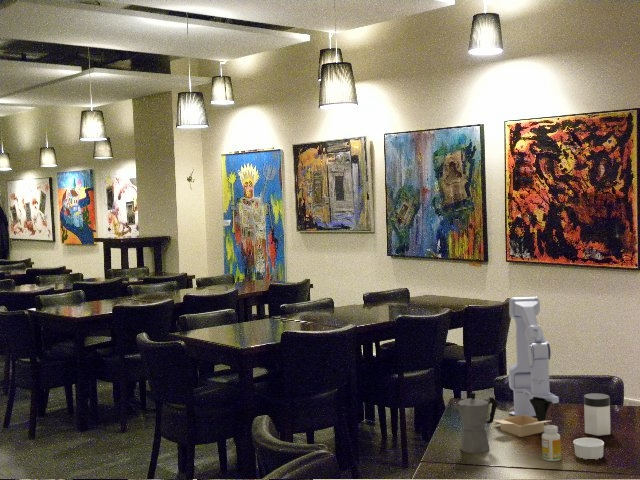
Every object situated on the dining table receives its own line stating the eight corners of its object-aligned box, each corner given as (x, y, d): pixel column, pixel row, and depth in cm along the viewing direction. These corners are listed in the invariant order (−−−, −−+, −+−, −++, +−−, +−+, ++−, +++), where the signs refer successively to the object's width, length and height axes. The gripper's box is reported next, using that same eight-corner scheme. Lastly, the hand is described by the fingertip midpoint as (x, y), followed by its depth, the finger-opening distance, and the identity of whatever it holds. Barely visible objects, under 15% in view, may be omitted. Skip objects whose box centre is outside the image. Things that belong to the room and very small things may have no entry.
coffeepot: (465, 456, 246) (463, 398, 245) (448, 448, 255) (446, 392, 254) (507, 448, 252) (505, 392, 252) (489, 441, 261) (487, 386, 260)
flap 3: (524, 415, 277) (533, 421, 279) (543, 421, 269) (552, 427, 271) (524, 414, 277) (534, 421, 279) (543, 420, 269) (553, 427, 271)
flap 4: (541, 421, 268) (551, 420, 263) (541, 421, 268) (552, 421, 263) (522, 425, 264) (532, 424, 260) (523, 425, 264) (533, 425, 260)
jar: (616, 432, 265) (616, 396, 264) (603, 437, 260) (602, 400, 259) (592, 426, 272) (591, 391, 271) (578, 432, 267) (577, 396, 266)
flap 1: (504, 420, 270) (492, 420, 268) (514, 423, 266) (503, 423, 264) (504, 421, 270) (492, 420, 268) (514, 424, 266) (503, 424, 264)
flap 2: (522, 415, 277) (514, 420, 281) (522, 414, 277) (514, 420, 281) (501, 419, 273) (493, 425, 277) (500, 418, 273) (493, 424, 277)
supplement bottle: (561, 456, 243) (560, 424, 242) (560, 462, 238) (559, 429, 237) (542, 455, 245) (542, 423, 244) (541, 461, 239) (540, 428, 239)
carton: (523, 425, 277) (523, 415, 277) (544, 431, 268) (543, 421, 268) (500, 429, 273) (500, 419, 273) (520, 437, 264) (520, 426, 264)
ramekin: (600, 462, 236) (600, 447, 236) (570, 458, 241) (569, 444, 241) (607, 453, 244) (607, 439, 244) (577, 450, 249) (577, 436, 248)
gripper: (515, 377, 266) (516, 417, 267) (546, 385, 253) (547, 427, 254) (532, 374, 269) (533, 414, 270) (563, 382, 256) (564, 424, 257)
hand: (541, 420), depth 262 cm, fingers closed
